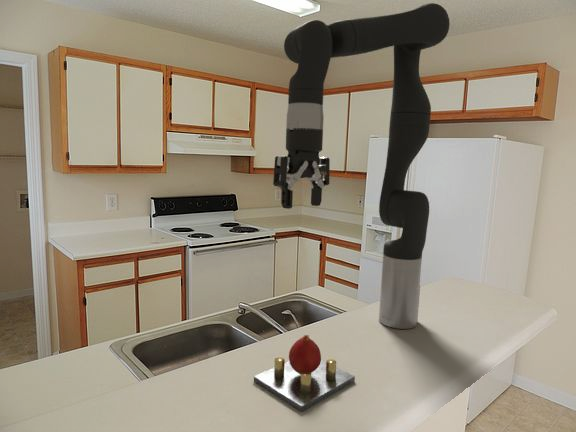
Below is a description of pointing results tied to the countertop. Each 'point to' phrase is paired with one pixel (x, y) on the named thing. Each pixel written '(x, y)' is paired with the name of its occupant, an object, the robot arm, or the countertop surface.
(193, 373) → the countertop surface
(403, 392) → the countertop surface
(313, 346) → the onion
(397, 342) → the countertop surface
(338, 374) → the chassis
